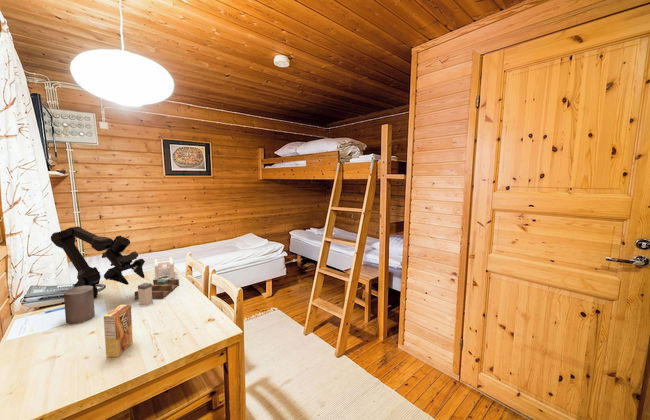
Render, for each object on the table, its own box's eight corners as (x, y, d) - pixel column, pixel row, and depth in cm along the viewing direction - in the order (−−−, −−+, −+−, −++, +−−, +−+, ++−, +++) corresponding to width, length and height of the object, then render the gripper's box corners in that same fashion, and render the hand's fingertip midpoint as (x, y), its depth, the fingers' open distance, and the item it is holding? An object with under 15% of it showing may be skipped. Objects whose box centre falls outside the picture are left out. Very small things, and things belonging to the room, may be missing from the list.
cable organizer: (155, 275, 176) (154, 258, 175) (173, 272, 182) (172, 256, 181) (155, 282, 163) (154, 264, 162) (175, 279, 169) (174, 261, 168)
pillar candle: (62, 320, 118) (58, 288, 116) (89, 311, 127) (86, 281, 125) (71, 326, 114) (68, 293, 112) (99, 316, 122) (97, 285, 120)
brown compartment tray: (134, 299, 140) (134, 290, 139) (154, 286, 158) (154, 277, 158) (162, 299, 141) (162, 289, 140) (179, 285, 159) (178, 277, 159)
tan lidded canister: (145, 305, 133) (144, 286, 132) (138, 305, 134) (137, 285, 133) (152, 302, 137) (151, 283, 136) (145, 301, 138) (144, 282, 137)
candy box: (122, 342, 103) (119, 304, 101) (133, 342, 103) (131, 304, 101) (105, 357, 94) (102, 316, 92) (118, 357, 94) (115, 315, 93)
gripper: (106, 252, 125) (128, 277, 124) (141, 243, 144) (159, 265, 143) (94, 267, 128) (115, 291, 127) (129, 257, 146) (148, 278, 145)
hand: (136, 280), depth 135 cm, fingers open, 9 cm apart
